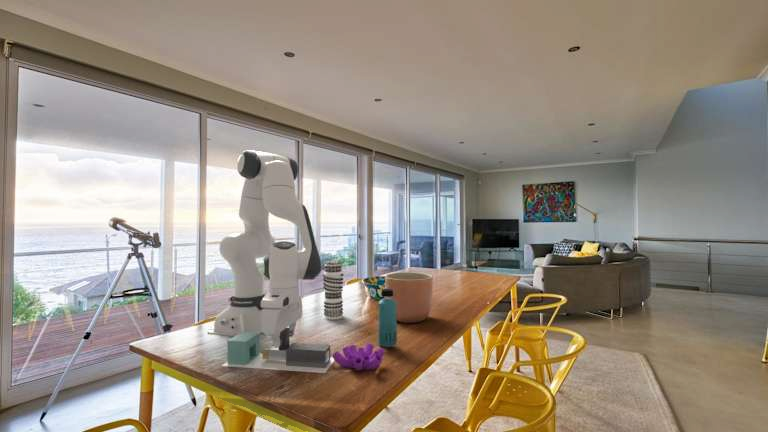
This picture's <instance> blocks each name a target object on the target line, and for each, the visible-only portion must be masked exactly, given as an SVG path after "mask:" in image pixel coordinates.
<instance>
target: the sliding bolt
mask: <svg viewBox="0 0 768 432" xmlns="http://www.w3.org/2000/svg"><path fill="white" fill-rule="evenodd" d="M279 338H280V340H281V346H280V347H279V348H275V347H274V345H266V346H265V347H264V348H263V349H262V353H263V359H266V360H282V361H286V348H287V347H289V346H290V337H289V327H287V328H286V329H284V330H283V331H281V332H280V336H279ZM328 360H329V349H328V350H327V351H326V363H327V362H328Z"/></svg>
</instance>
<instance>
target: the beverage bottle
mask: <svg viewBox="0 0 768 432" xmlns="http://www.w3.org/2000/svg"><path fill="white" fill-rule="evenodd" d="M380 293H381V297H383V298H381V299H380V300H379V301H378V303H377V304H378V305H377V306H378V330H377V331H378V345H380V346H381V347H394V346H396V345H397V341H398V337H397V336H398V330H397V328H398V325H397V320H396V316H397V314H396V313H397V312H396V301H395V300H394V299H392V298H386V297H391V296H393V290H392V289H385V288H383V289H381V292H380Z"/></svg>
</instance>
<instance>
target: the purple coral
mask: <svg viewBox="0 0 768 432" xmlns="http://www.w3.org/2000/svg"><path fill="white" fill-rule="evenodd" d="M373 350H374V344H373V343H369V342H367V343H366V345H365V347H358V349H357V346H356V344H351V345H349V346H348V345H347V346H345V347H343V348H342V352H343V354H342V353H341V352H340V351H338V350H337V351H335V352H334V353H333V354H332V355H331V356H332V357H333V359H334V362H335V363H337V364H338V365H340V366H342V367H344V368H350V369H351V368H354V369H355V370H356V371H361V370H367V371H368V370H369V371H370V370H374V369H376V368H378V366H380V364H381V363H382V361H383V356H385V353H386V351H385V350H384V348H382V347H380V346H379V347H378V348H377V350H375V351H373Z"/></svg>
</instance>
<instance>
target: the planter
mask: <svg viewBox="0 0 768 432" xmlns="http://www.w3.org/2000/svg"><path fill="white" fill-rule="evenodd" d="M384 282H385V283H384V284H385V285H384V289H392V290H393V296H391V297H385V298H392V299H394V300H395V301H396V312H397V313H396V314H397V316H396V322H399V323H406V324H414V323H419V322H422V321H424V320H425V319H427V317H429V315H430V313H431V312H432V311H431V310H432V304H433V289H434V276H433V275H432V274H429V273H424V272H415V271H414V272H411V271H401V272H392V273H388V274H386V275H385V276H384Z"/></svg>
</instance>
